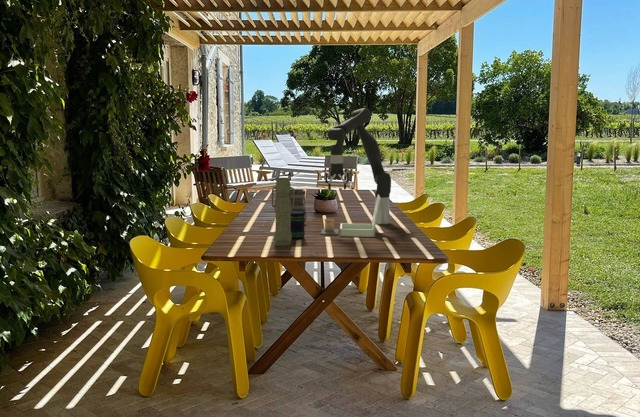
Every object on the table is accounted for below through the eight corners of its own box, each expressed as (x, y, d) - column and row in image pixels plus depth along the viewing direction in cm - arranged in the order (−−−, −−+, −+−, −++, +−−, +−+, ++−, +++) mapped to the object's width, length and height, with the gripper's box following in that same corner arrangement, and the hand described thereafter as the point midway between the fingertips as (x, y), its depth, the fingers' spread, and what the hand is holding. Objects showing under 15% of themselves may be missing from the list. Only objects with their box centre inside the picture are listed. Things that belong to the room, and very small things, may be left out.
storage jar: (300, 241, 312) (300, 213, 310) (284, 239, 316) (284, 212, 314) (307, 237, 322) (307, 211, 320) (291, 236, 325) (291, 210, 323)
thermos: (295, 246, 299) (295, 178, 294) (272, 246, 297) (272, 178, 292) (293, 242, 307) (294, 177, 302) (271, 243, 306) (271, 177, 301)
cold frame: (378, 230, 347) (379, 194, 344) (379, 236, 327) (380, 198, 324) (340, 229, 348) (341, 193, 345) (339, 235, 328) (340, 197, 325)
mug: (304, 212, 416) (305, 191, 414) (286, 212, 417) (286, 191, 414) (306, 208, 436) (306, 188, 434) (288, 208, 436) (288, 188, 434)
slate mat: (338, 230, 346) (338, 229, 346) (338, 235, 330) (338, 233, 330) (322, 229, 347) (322, 228, 347) (320, 234, 331) (320, 233, 331)
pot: (334, 230, 341) (334, 218, 340) (334, 232, 335) (334, 220, 334) (324, 230, 341) (324, 218, 340) (324, 231, 336) (324, 219, 335)
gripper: (348, 161, 345) (349, 188, 347) (324, 162, 345) (325, 189, 348) (349, 162, 337) (349, 190, 340) (324, 163, 338) (325, 190, 340)
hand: (337, 189), depth 344 cm, fingers open, 8 cm apart
